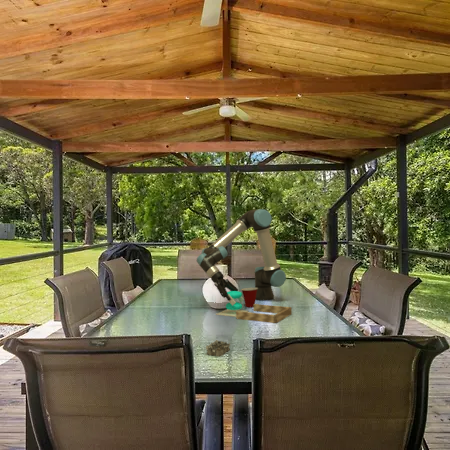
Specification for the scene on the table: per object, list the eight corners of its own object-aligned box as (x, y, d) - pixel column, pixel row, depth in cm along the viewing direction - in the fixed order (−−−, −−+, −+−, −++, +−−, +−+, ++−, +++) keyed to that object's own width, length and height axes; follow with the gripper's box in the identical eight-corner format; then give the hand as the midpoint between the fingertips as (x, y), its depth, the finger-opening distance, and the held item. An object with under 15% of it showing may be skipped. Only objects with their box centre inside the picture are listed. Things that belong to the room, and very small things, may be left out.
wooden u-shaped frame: (236, 318, 219) (236, 311, 219) (254, 310, 240) (254, 304, 240) (276, 323, 208) (276, 315, 208) (291, 314, 229) (291, 307, 229)
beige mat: (215, 314, 231) (215, 314, 231) (228, 309, 245) (228, 308, 245) (236, 317, 224) (236, 316, 224) (248, 311, 238) (248, 310, 238)
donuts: (224, 291, 238) (240, 290, 239) (224, 307, 238) (240, 306, 239) (227, 293, 228) (243, 293, 229) (227, 310, 228) (243, 310, 229)
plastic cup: (247, 304, 260) (246, 286, 260) (261, 306, 254) (260, 287, 254) (238, 307, 251) (237, 288, 251) (252, 309, 245) (252, 289, 245)
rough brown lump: (220, 357, 155) (220, 347, 155) (204, 355, 159) (203, 345, 159) (232, 349, 165) (231, 340, 165) (216, 347, 168) (216, 338, 168)
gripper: (220, 276, 251) (242, 303, 243) (201, 281, 231) (225, 310, 223) (227, 268, 248) (250, 295, 241) (209, 272, 229) (233, 301, 221)
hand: (238, 302), depth 232 cm, fingers closed on donuts, 10 cm apart
